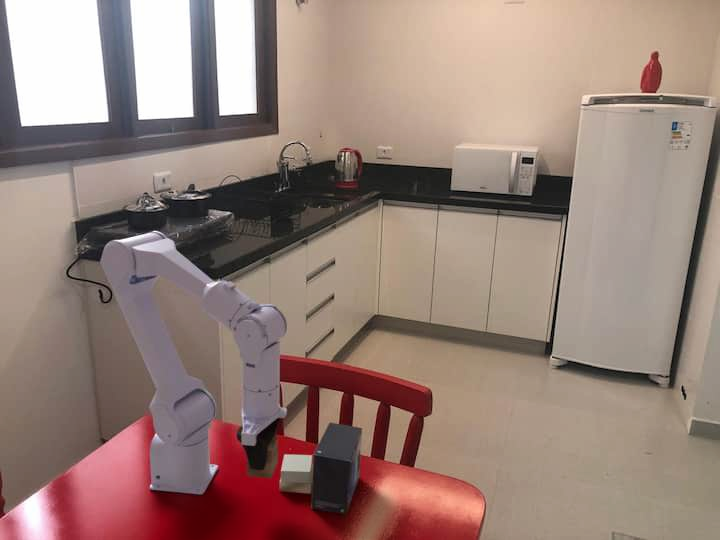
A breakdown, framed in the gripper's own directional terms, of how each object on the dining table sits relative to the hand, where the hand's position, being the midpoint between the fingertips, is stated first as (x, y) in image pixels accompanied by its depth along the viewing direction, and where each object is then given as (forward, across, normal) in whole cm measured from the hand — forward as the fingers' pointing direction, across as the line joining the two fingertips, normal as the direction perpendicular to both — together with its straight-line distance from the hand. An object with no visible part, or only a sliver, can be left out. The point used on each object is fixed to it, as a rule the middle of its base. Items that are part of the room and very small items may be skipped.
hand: (261, 459), depth 92 cm
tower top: (+7, +7, -4) cm, 11 cm away
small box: (+9, +5, -12) cm, 16 cm away
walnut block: (+2, 0, 0) cm, 2 cm away
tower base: (+9, +7, -5) cm, 13 cm away
